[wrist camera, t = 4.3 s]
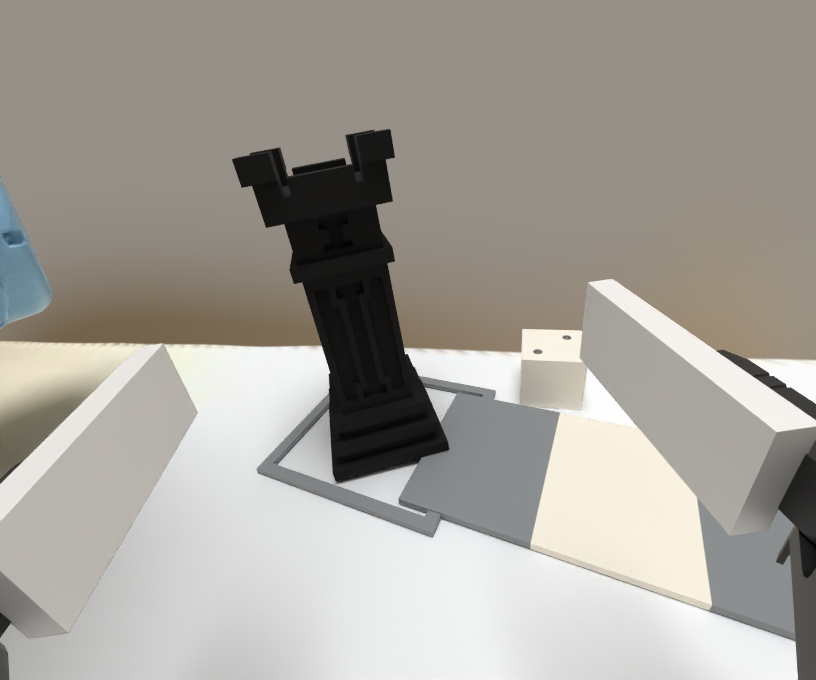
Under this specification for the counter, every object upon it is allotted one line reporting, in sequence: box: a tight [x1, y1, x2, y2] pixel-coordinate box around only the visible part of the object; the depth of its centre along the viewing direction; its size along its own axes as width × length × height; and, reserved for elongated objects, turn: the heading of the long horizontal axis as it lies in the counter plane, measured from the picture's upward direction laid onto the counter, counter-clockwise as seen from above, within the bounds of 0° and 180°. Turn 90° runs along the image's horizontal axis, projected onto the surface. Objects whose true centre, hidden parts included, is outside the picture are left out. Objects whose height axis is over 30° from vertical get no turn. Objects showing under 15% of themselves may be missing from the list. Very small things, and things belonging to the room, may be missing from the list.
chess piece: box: [232, 129, 449, 481], centre depth 26 cm, size 8×8×20 cm
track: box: [399, 393, 796, 640], centre depth 24 cm, size 24×11×1 cm, turn 64°
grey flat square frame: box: [257, 376, 495, 537], centre depth 31 cm, size 14×14×1 cm
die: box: [520, 329, 587, 410], centre depth 32 cm, size 4×4×5 cm
